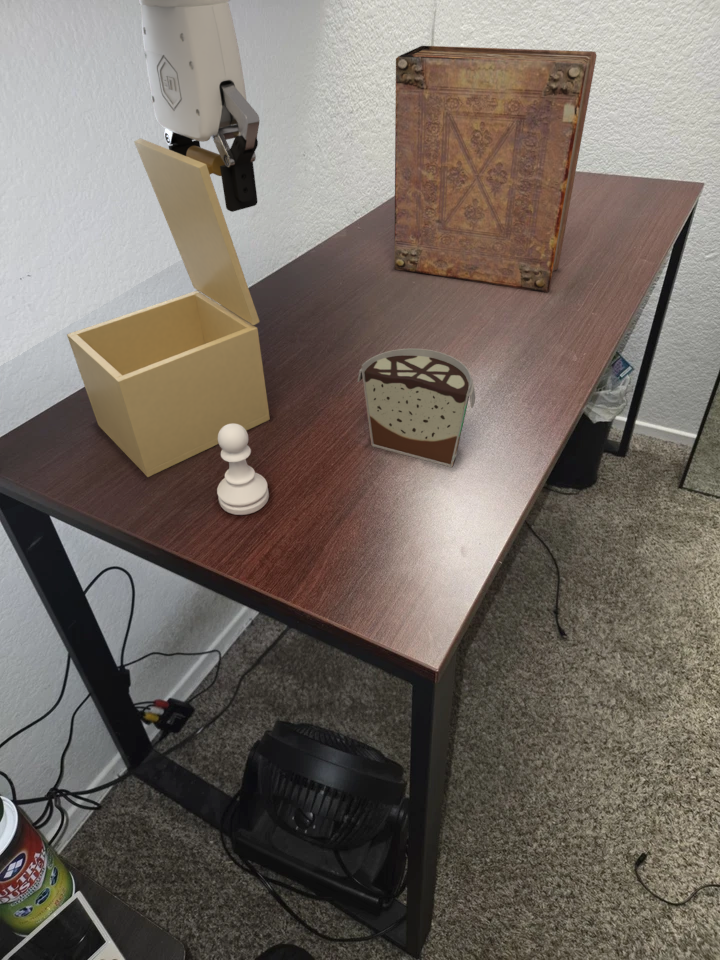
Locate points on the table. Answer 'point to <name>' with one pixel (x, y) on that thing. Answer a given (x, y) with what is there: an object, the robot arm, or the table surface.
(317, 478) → the table surface
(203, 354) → the light wooden open box
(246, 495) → the chess pawn
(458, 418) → the food container
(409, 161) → the book
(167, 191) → the lid
